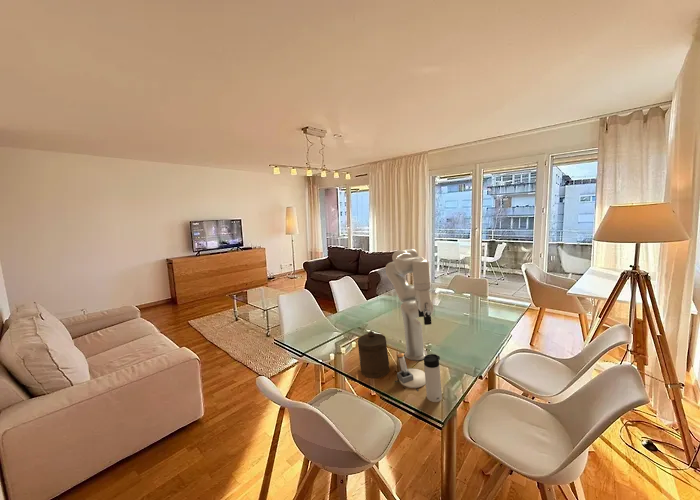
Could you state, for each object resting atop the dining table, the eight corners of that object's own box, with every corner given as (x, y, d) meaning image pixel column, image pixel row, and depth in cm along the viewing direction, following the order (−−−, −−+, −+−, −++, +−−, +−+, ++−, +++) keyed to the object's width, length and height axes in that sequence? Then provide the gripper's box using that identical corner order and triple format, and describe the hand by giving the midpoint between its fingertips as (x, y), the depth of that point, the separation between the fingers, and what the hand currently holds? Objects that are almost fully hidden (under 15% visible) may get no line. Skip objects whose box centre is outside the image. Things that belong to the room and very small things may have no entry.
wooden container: (371, 361, 157) (367, 324, 154) (395, 368, 147) (391, 329, 144) (355, 375, 146) (350, 335, 143) (379, 384, 136) (374, 341, 133)
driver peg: (403, 377, 135) (397, 353, 136) (410, 376, 134) (403, 352, 136) (402, 379, 131) (396, 355, 133) (409, 378, 131) (403, 354, 132)
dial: (417, 368, 142) (416, 361, 142) (432, 382, 130) (432, 374, 130) (394, 376, 138) (393, 368, 138) (408, 391, 126) (407, 382, 126)
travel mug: (442, 406, 117) (439, 361, 114) (426, 403, 119) (422, 359, 116) (443, 396, 122) (440, 353, 120) (427, 394, 125) (424, 352, 122)
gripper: (409, 282, 141) (412, 314, 143) (418, 291, 124) (422, 328, 126) (424, 280, 141) (427, 313, 143) (435, 289, 124) (438, 326, 126)
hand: (424, 320), depth 135 cm, fingers open, 9 cm apart
